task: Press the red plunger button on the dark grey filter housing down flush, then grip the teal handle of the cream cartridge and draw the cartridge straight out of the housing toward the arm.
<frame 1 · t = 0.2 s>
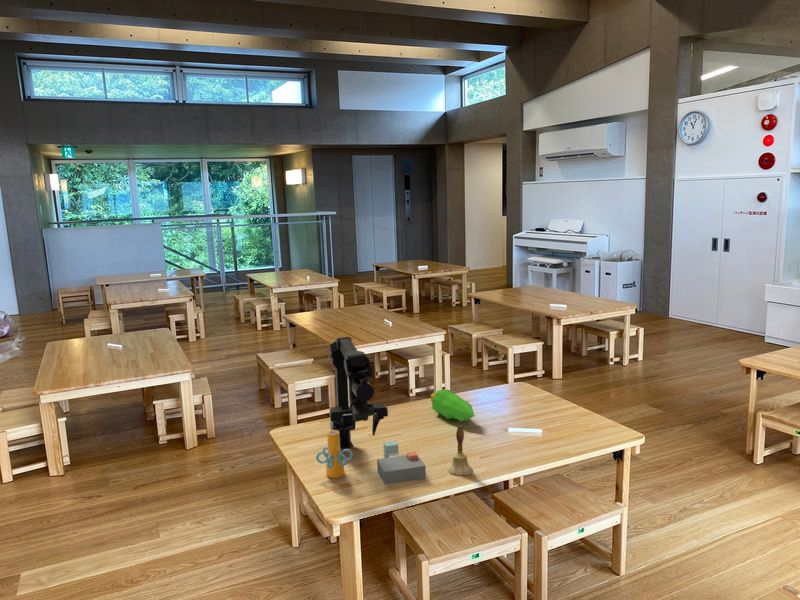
hand: (359, 436, 198), 14 cm above the table, tool pointing down, fingers open, 9 cm apart
decorative tree: (452, 419, 249), on the table
orange vase with handles: (335, 474, 203), on the table
housing: (401, 475, 200), on the table
plunger: (412, 460, 203), point 4 cm above the table, slide at 0.0 cm
hand bell: (460, 471, 203), on the table
cartridge: (396, 460, 205), point 3 cm above the table, slide at 0.0 cm
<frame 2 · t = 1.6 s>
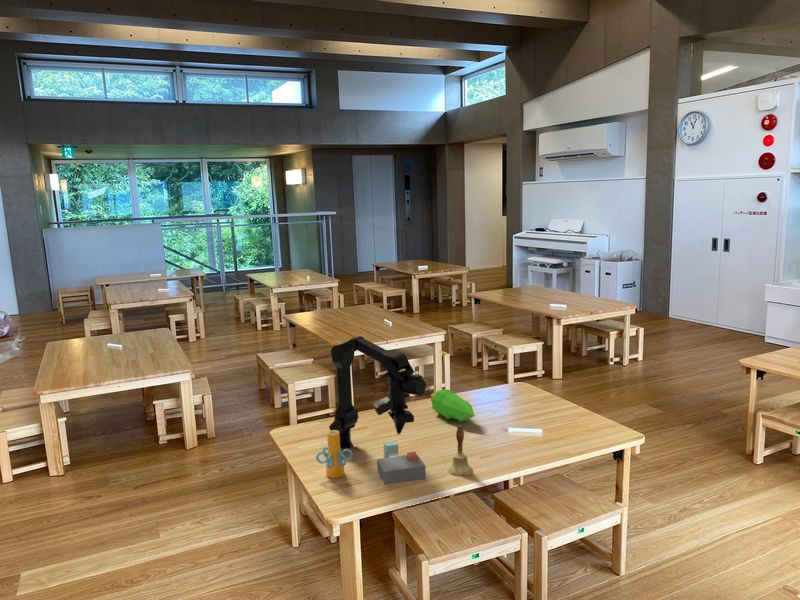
hand: (398, 433, 208), 11 cm above the table, tool pointing down, fingers closed
nothing on the table moved.
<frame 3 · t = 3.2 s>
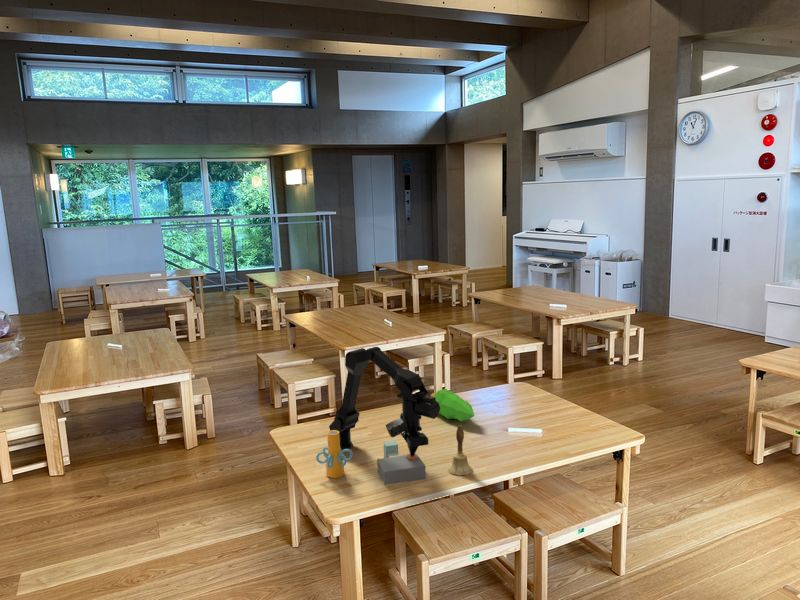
hand: (412, 455, 203), 5 cm above the table, tool pointing down, fingers closed, pressing on plunger
plunger: (412, 462, 203), point 3 cm above the table, slide at 0.7 cm, touching gripper
everything else where it was.
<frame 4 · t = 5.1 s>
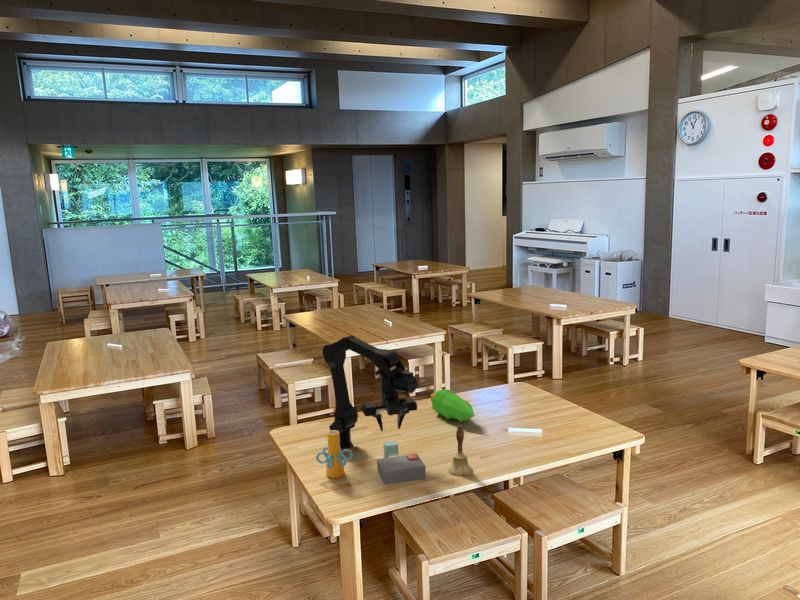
hand: (390, 430, 211), 11 cm above the table, tool pointing down, fingers open, 6 cm apart
plunger: (412, 462, 203), point 3 cm above the table, slide at 0.8 cm
everything else where it was.
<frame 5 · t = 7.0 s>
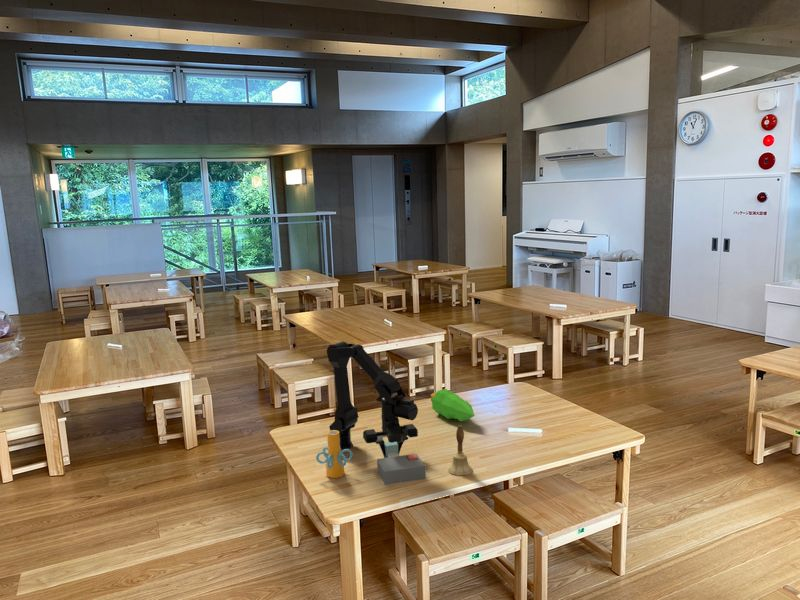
hand: (391, 456, 213), 1 cm above the table, tool pointing down, fingers closed on cartridge, 4 cm apart
cartridge: (396, 460, 205), point 3 cm above the table, slide at 0.0 cm, touching gripper
everything else where it was.
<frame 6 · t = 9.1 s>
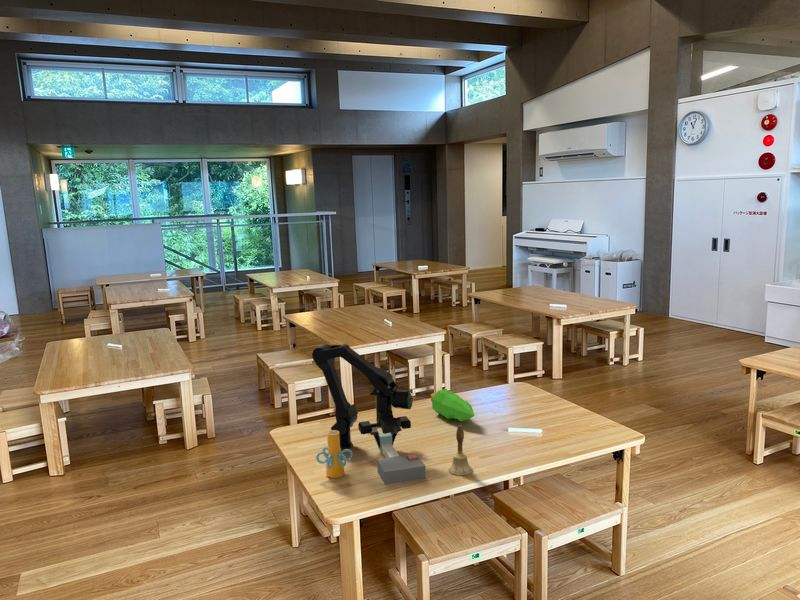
hand: (385, 447, 221), 1 cm above the table, tool pointing down, fingers closed on cartridge, 4 cm apart
cartridge: (390, 450, 213), point 3 cm above the table, slide at 8.4 cm, touching gripper
everything else where it was.
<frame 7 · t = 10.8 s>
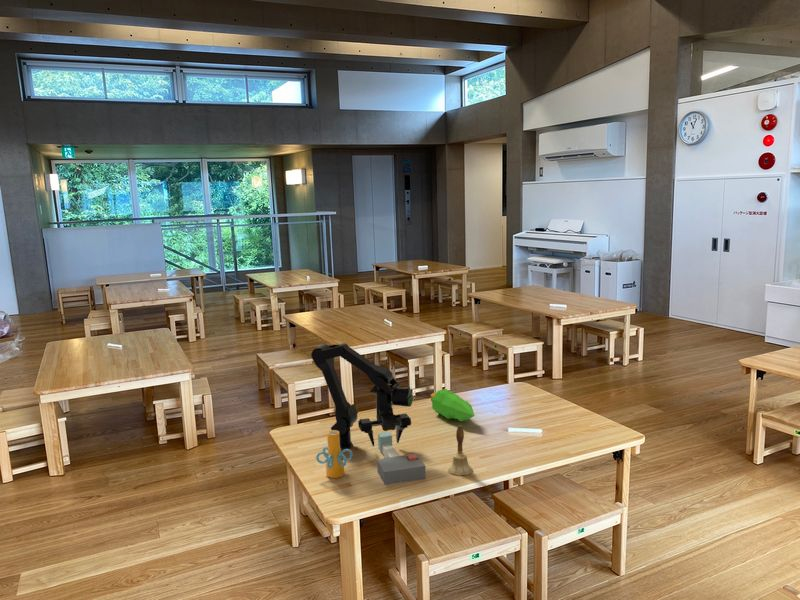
hand: (385, 444, 220), 2 cm above the table, tool pointing down, fingers open, 9 cm apart
cartridge: (390, 450, 213), point 3 cm above the table, slide at 8.4 cm
everything else where it was.
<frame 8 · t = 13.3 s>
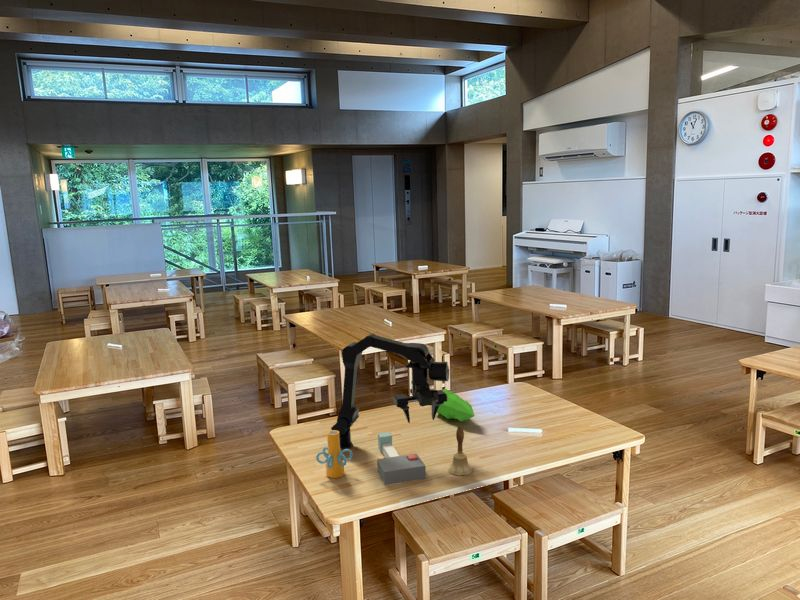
hand: (421, 421, 216), 12 cm above the table, tool pointing down, fingers open, 9 cm apart
nothing on the table moved.
at the end: plunger slide at 0.8 cm; cartridge slide at 8.4 cm; the gripper is holding nothing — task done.
